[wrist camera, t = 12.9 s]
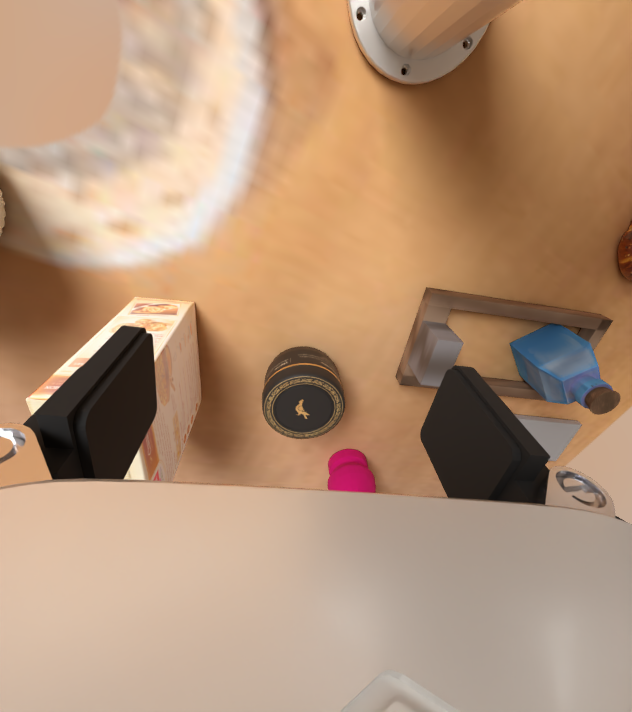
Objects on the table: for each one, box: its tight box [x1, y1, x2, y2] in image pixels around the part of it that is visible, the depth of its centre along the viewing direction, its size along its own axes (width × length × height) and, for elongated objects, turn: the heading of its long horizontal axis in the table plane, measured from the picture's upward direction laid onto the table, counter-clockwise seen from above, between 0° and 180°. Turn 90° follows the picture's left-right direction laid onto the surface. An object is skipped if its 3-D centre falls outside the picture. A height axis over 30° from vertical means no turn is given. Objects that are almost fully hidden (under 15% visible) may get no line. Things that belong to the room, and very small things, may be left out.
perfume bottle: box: [510, 323, 620, 415], centre depth 43 cm, size 6×6×12 cm
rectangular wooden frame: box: [396, 287, 613, 401], centre depth 44 cm, size 13×24×7 cm, turn 80°
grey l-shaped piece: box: [514, 414, 582, 461], centre depth 53 cm, size 8×20×5 cm, turn 80°
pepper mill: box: [328, 449, 376, 493], centre depth 48 cm, size 7×7×20 cm
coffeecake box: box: [26, 297, 202, 481], centre depth 36 cm, size 15×7×20 cm, turn 174°
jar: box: [262, 347, 345, 439], centre depth 44 cm, size 10×10×8 cm
